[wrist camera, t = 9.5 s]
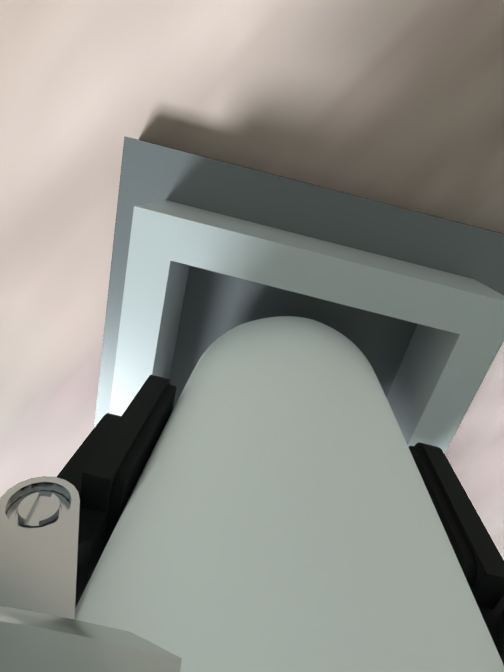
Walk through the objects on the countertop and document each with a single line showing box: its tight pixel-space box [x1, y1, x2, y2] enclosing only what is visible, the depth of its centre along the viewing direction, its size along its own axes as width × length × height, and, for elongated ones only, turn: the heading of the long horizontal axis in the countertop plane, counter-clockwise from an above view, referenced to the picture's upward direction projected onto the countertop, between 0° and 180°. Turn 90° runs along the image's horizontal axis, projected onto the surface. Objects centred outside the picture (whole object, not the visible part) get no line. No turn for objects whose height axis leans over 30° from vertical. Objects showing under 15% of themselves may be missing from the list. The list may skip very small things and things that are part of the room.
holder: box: [94, 137, 504, 454], centre depth 15 cm, size 14×14×4 cm
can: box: [75, 316, 504, 672], centre depth 8 cm, size 6×6×12 cm
